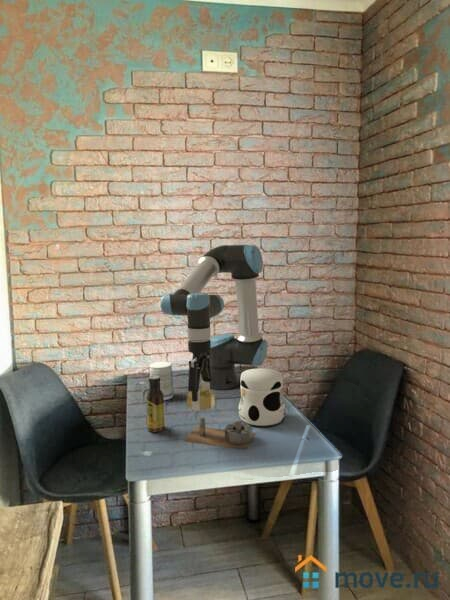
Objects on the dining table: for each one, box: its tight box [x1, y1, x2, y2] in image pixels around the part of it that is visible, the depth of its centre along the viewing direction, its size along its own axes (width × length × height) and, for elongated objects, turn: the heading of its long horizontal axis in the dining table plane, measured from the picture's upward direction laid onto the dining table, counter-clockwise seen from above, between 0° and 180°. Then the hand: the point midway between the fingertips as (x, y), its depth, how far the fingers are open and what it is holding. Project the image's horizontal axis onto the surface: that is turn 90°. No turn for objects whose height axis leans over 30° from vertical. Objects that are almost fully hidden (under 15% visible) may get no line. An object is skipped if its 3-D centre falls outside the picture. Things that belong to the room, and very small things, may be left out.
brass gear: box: [186, 388, 216, 411], centre depth 154 cm, size 9×9×4 cm
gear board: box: [183, 416, 257, 450], centre depth 154 cm, size 12×22×7 cm, turn 72°
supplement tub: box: [149, 361, 174, 401], centre depth 195 cm, size 10×10×15 cm
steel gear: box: [224, 422, 254, 446], centre depth 152 cm, size 9×9×4 cm
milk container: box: [238, 367, 286, 428], centre depth 168 cm, size 17×17×18 cm
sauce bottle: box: [145, 375, 166, 433], centre depth 163 cm, size 6×6×20 cm
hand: (201, 404), depth 155 cm, fingers closed on brass gear, 9 cm apart
